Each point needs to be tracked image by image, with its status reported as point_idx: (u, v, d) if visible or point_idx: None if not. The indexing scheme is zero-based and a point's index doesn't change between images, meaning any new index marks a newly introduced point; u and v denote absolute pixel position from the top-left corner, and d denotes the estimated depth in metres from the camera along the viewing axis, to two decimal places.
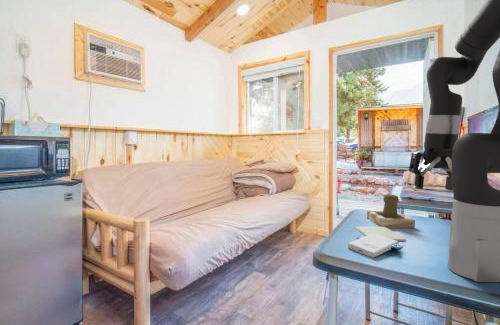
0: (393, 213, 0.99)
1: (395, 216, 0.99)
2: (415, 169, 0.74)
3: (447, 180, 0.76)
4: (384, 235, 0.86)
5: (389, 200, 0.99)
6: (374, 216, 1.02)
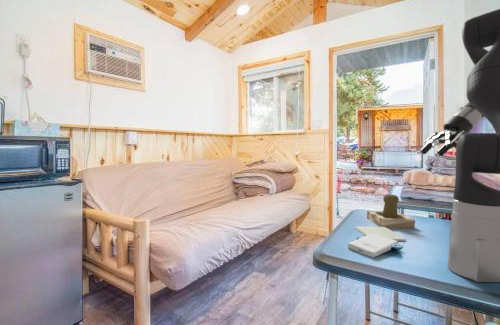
0: (393, 213, 0.99)
1: (395, 216, 0.99)
2: (426, 140, 1.04)
3: None
4: (384, 235, 0.86)
5: (389, 200, 0.99)
6: (374, 216, 1.02)
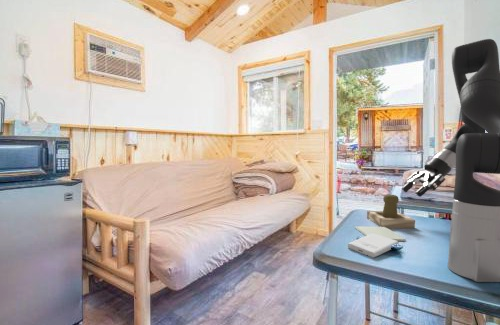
0: (393, 213, 0.99)
1: (395, 216, 0.99)
2: (408, 178, 1.08)
3: None
4: (384, 235, 0.86)
5: (389, 200, 0.99)
6: (374, 216, 1.02)
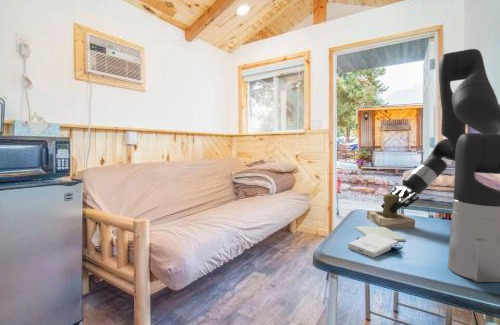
0: (393, 213, 0.99)
1: (395, 216, 0.99)
2: None
3: None
4: (384, 235, 0.86)
5: (389, 200, 0.99)
6: (374, 216, 1.02)
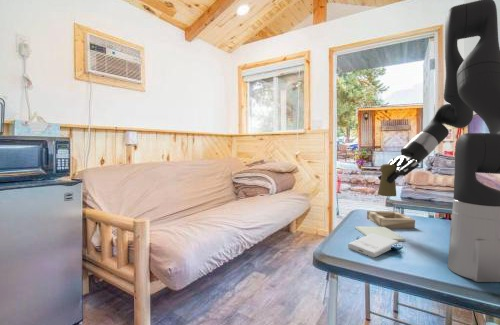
0: (391, 183, 0.92)
1: (393, 186, 0.92)
2: None
3: None
4: (384, 235, 0.86)
5: (386, 169, 0.92)
6: (374, 216, 1.02)
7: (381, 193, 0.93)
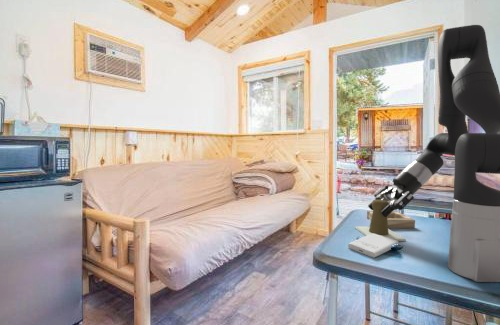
0: (383, 221, 0.86)
1: (385, 225, 0.86)
2: (376, 193, 0.94)
3: None
4: (384, 235, 0.86)
5: (377, 206, 0.86)
6: None
7: (372, 231, 0.88)
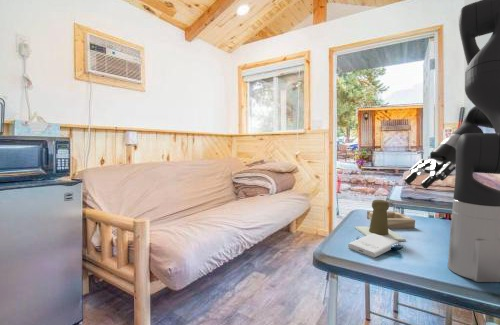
0: (383, 221, 0.86)
1: (385, 225, 0.86)
2: (411, 168, 0.94)
3: None
4: (384, 235, 0.86)
5: (377, 206, 0.86)
6: None
7: (372, 231, 0.88)
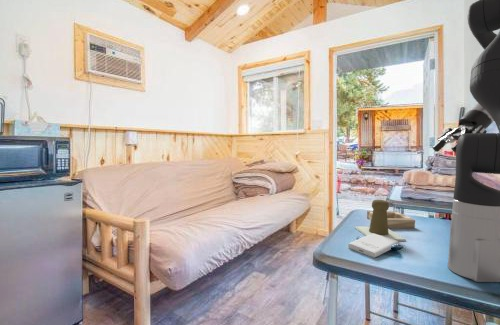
0: (383, 221, 0.86)
1: (385, 225, 0.86)
2: (439, 136, 0.95)
3: None
4: (384, 235, 0.86)
5: (377, 206, 0.86)
6: None
7: (372, 231, 0.88)
